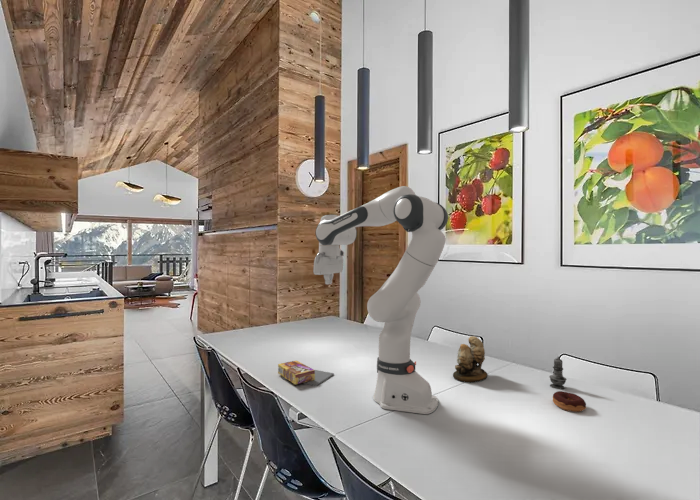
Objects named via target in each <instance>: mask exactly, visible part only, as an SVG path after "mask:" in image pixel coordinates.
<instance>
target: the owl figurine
mask: <svg viewBox="0 0 700 500" xmlns="http://www.w3.org/2000/svg"><path fill="white" fill-rule="evenodd" d="M468 344H469V345H467V344H465V343H461V344H460V345H459V348H458V351H457V357H456V363H457V364H456V365H455V366H454V369H455V371H454V372H453V374H452V377H453V379H454V380H456V381H458V382H461V383H469V384H470V383H471V384H472V383H480V382H483V381H485V380H486V379H487V378H488V373H487V371H486V370H485V369H484V368H482V365H483V363H484V361H485V360H486V358H485V355H486V350H485V347H484V343H483V341H482V340H480V339H479V338H478V337H476V336H475V335H471V336H469V337H468Z"/></svg>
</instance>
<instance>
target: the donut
mask: <svg viewBox="0 0 700 500" xmlns="http://www.w3.org/2000/svg"><path fill="white" fill-rule="evenodd" d="M552 402H553V403H554V405H555V406H557V407H558V408H559V409H561V410H563V411H567V412H571V413H573V412H574V413H580V412H583V411H585V410H586V409H587V403H586V401H585V399H584V398H583V397H581V396H579V395H577V394H575V393H572V392H567V391H563V390H559V391H556V392H554V393H553V394H552Z"/></svg>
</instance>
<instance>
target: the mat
mask: <svg viewBox="0 0 700 500" xmlns="http://www.w3.org/2000/svg"><path fill="white" fill-rule="evenodd" d="M314 370H315V380H312V381H308V382H304V383H303V385H304V384H305V385H309V386H314V387H318V386H319V385H321V384H322V383H323V382H325V381H327V380H328V379H330V378H332V377H333V376H334V375H335V373H333V372H329V371H324V370H319V369H314ZM281 377H282V380H286V381H288V380H287V379H286V378H284V377H283V376H281Z"/></svg>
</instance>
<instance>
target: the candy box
mask: <svg viewBox="0 0 700 500" xmlns="http://www.w3.org/2000/svg"><path fill="white" fill-rule="evenodd" d="M315 370H316V369H314V368H312V367H309V366H308V365H306V364H304V363H302V362H300V361H298V360H292V361H287V362H286V361H285V362H281V363H278V364H277V374H278V375H280V376H281V377H284V378H286V379H287V380H286V381H290V382H291V383H292V384H293V385H300V384H304V382H308V381H312V380H315Z"/></svg>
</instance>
